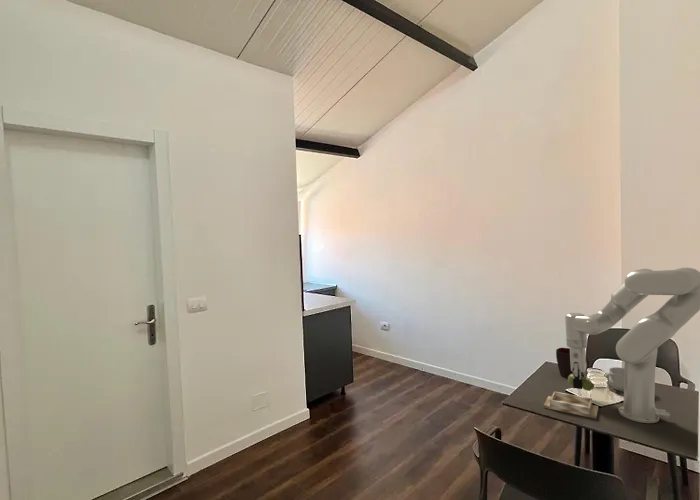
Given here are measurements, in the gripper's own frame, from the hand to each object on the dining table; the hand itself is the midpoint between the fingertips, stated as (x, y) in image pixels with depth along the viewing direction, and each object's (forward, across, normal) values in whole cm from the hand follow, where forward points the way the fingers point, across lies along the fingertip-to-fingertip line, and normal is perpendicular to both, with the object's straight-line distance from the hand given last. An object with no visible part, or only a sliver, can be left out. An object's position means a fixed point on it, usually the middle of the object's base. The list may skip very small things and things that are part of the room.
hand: (578, 385), depth 173 cm
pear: (+1, 0, -1) cm, 1 cm away
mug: (+5, +26, +6) cm, 27 cm away
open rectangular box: (+5, -12, +2) cm, 13 cm away
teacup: (+6, +19, -13) cm, 24 cm away
